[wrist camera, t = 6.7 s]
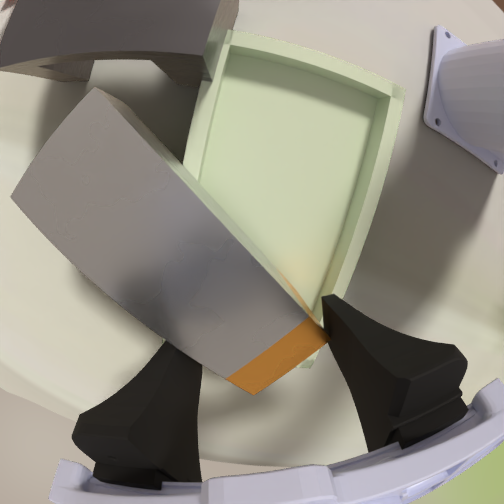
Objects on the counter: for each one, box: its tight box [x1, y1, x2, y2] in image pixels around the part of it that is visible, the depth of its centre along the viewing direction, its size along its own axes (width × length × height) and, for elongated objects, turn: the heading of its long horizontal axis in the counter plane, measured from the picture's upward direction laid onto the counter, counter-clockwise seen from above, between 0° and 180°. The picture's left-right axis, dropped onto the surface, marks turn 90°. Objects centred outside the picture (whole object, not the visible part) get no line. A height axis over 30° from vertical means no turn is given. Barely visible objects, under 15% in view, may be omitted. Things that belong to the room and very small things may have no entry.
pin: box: [11, 87, 331, 395], centre depth 11 cm, size 4×13×4 cm, turn 39°
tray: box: [162, 30, 406, 368], centre depth 14 cm, size 10×18×2 cm, turn 167°
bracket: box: [0, 0, 239, 87], centre depth 8 cm, size 9×5×6 cm, turn 77°
